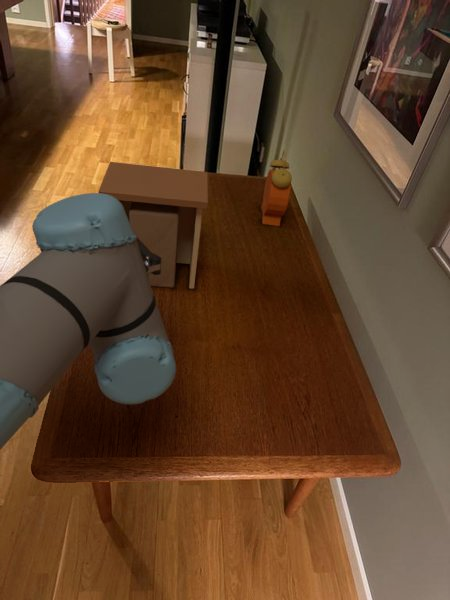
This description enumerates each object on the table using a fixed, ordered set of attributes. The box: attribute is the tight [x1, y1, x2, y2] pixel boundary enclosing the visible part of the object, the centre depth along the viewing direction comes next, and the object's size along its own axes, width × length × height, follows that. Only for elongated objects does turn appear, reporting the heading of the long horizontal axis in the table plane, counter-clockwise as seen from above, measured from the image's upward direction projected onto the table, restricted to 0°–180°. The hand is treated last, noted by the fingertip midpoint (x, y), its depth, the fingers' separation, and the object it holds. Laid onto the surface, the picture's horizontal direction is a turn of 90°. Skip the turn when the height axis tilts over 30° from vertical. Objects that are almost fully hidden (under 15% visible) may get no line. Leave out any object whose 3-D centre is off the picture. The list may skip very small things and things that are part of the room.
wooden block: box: [129, 202, 180, 289], centre depth 92 cm, size 10×10×20 cm
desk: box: [97, 161, 209, 289], centre depth 90 cm, size 13×21×24 cm, turn 92°
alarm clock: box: [260, 150, 293, 227], centre depth 120 cm, size 13×6×20 cm, turn 179°
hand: (105, 222), depth 68 cm, fingers closed
